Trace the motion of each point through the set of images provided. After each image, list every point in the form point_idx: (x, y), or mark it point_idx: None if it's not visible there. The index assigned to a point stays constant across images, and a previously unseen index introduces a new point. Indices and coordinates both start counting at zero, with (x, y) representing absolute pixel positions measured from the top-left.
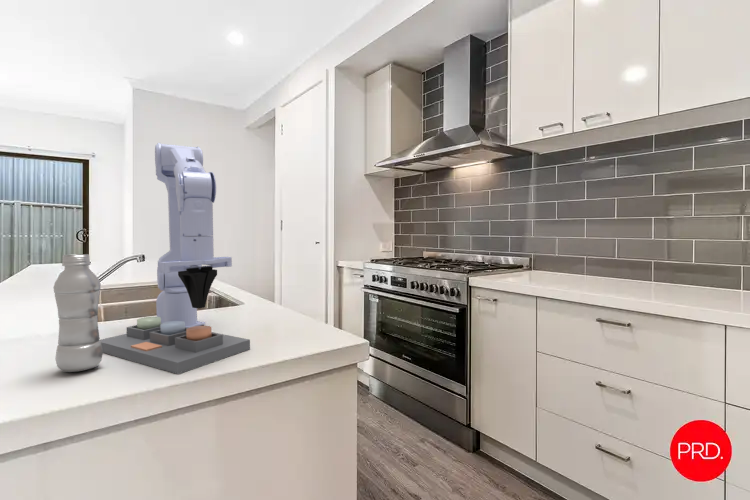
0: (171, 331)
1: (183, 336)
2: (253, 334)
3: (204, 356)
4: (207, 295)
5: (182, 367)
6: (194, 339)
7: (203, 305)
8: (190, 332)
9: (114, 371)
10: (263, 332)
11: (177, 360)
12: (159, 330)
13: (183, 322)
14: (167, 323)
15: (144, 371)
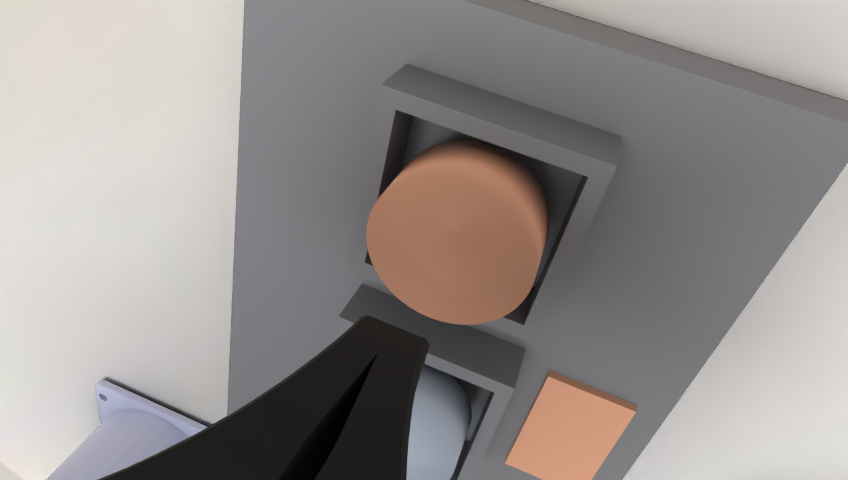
0: (453, 405)
1: None
2: (71, 86)
3: (644, 54)
4: (297, 376)
5: (822, 102)
6: (544, 214)
7: (378, 332)
8: (538, 266)
9: (791, 428)
10: (15, 48)
11: (812, 159)
12: None
13: None
14: None
15: (788, 308)
